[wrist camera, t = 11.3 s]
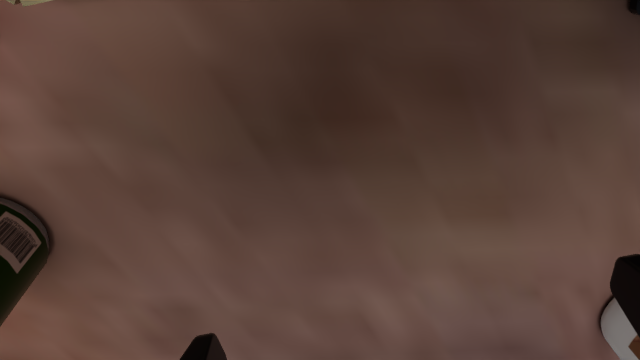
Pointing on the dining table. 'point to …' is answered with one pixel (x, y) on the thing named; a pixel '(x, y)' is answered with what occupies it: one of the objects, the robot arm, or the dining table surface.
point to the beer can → (19, 253)
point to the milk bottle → (620, 332)
